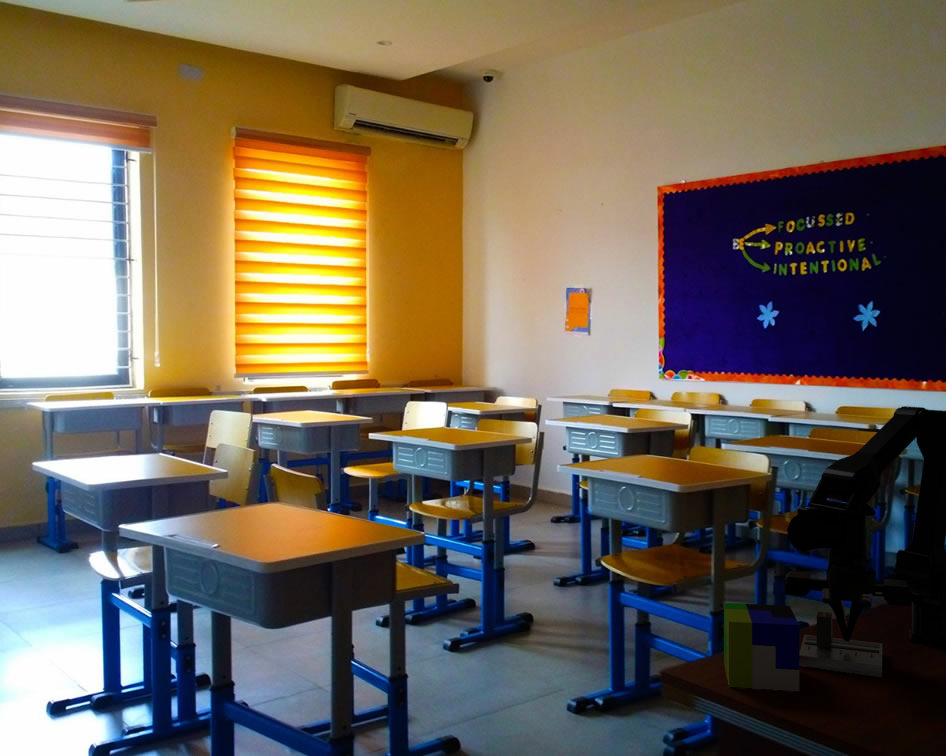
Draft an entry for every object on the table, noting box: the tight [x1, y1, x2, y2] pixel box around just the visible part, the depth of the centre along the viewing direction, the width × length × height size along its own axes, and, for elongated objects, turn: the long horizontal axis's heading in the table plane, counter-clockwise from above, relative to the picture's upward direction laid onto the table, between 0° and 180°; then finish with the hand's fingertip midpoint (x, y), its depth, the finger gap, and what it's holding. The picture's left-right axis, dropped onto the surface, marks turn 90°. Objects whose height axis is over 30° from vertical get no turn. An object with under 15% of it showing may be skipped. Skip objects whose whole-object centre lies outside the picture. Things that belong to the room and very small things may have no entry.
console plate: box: [799, 634, 883, 678], centre depth 145 cm, size 11×12×2 cm
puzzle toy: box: [723, 602, 800, 692], centre depth 138 cm, size 10×10×10 cm
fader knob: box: [816, 610, 833, 647], centre depth 147 cm, size 3×2×5 cm
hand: (846, 640), depth 145 cm, fingers closed
